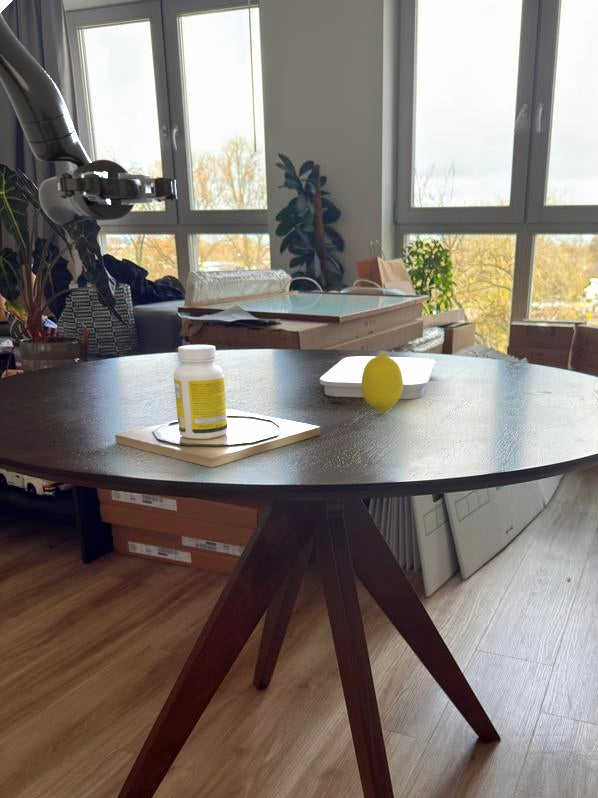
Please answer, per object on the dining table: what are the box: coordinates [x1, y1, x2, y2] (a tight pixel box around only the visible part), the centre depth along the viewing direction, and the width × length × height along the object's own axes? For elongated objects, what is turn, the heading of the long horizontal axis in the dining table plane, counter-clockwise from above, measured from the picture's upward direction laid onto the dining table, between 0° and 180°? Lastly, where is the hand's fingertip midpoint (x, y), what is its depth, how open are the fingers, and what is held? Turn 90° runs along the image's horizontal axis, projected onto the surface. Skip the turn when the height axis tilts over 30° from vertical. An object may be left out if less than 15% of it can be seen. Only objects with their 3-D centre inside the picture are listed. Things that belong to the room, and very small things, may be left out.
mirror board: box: [114, 408, 321, 468], centre depth 84 cm, size 17×16×1 cm
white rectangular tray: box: [319, 355, 436, 400], centre depth 118 cm, size 16×26×2 cm, turn 173°
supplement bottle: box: [173, 344, 228, 439], centre depth 80 cm, size 5×5×10 cm
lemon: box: [361, 352, 403, 414], centre depth 96 cm, size 6×6×8 cm
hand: (132, 185), depth 89 cm, fingers open, 8 cm apart
